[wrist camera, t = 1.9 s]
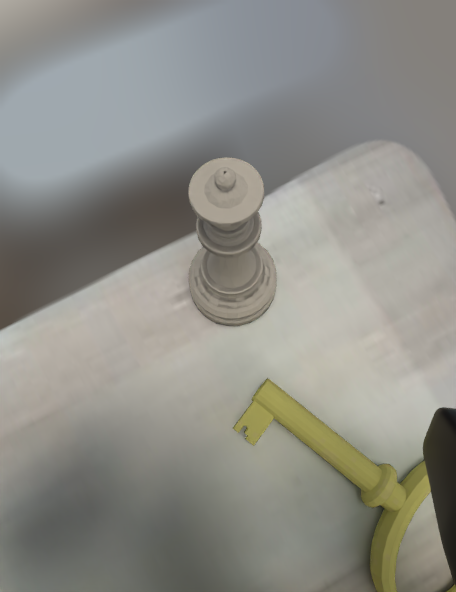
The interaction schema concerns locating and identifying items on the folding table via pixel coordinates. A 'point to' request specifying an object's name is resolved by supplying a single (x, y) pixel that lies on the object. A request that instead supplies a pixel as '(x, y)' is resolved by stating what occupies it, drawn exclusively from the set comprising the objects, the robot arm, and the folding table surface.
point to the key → (347, 474)
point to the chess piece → (230, 244)
